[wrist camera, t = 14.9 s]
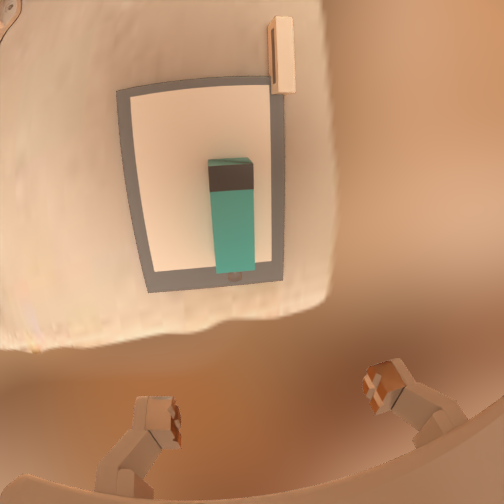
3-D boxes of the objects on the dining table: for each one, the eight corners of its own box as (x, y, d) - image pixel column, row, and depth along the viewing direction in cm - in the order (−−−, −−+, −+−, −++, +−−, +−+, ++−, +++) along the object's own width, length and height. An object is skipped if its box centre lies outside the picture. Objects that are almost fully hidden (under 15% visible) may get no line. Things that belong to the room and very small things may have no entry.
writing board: (118, 91, 24) (116, 91, 23) (281, 77, 26) (283, 76, 25) (149, 289, 35) (147, 293, 34) (281, 277, 37) (283, 280, 36)
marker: (208, 159, 28) (207, 166, 25) (247, 157, 29) (253, 163, 25) (216, 270, 34) (217, 289, 31) (250, 267, 35) (255, 286, 31)
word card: (267, 27, 23) (275, 15, 20) (282, 27, 23) (292, 17, 20) (269, 94, 27) (278, 92, 23) (284, 95, 27) (295, 92, 23)
